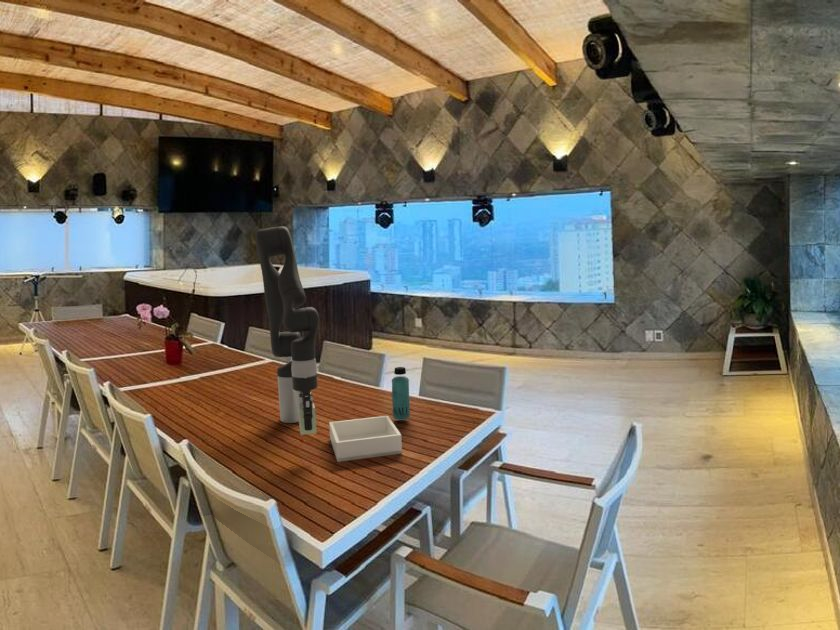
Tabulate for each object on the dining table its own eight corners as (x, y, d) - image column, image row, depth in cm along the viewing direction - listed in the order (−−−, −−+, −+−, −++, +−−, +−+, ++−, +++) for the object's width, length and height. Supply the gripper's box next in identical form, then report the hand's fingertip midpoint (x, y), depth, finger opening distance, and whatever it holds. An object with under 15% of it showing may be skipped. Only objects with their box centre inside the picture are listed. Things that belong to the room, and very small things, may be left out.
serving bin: (330, 439, 189) (329, 422, 188) (388, 432, 194) (387, 415, 193) (337, 461, 170) (336, 442, 169) (402, 453, 175) (401, 434, 174)
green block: (299, 429, 175) (298, 404, 174) (315, 427, 176) (313, 403, 175) (300, 434, 171) (299, 409, 169) (316, 432, 172) (315, 407, 171)
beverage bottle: (402, 417, 210) (400, 364, 207) (414, 420, 205) (412, 367, 202) (388, 421, 205) (386, 367, 203) (401, 425, 201) (399, 370, 198)
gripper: (290, 368, 177) (294, 421, 179) (293, 380, 163) (296, 436, 166) (314, 366, 179) (317, 418, 181) (319, 377, 165) (322, 433, 168)
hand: (307, 426), depth 173 cm, fingers closed on green block, 4 cm apart
